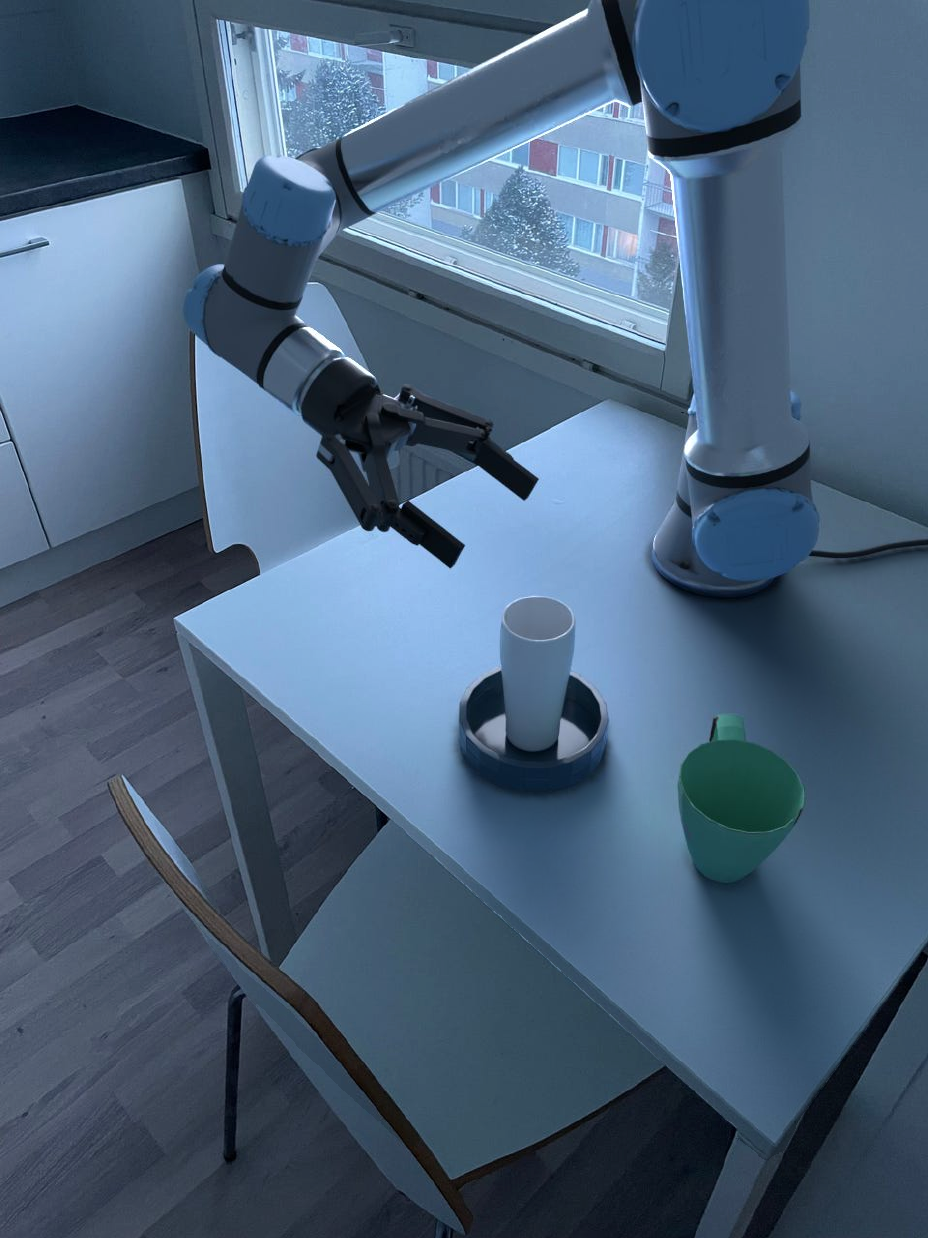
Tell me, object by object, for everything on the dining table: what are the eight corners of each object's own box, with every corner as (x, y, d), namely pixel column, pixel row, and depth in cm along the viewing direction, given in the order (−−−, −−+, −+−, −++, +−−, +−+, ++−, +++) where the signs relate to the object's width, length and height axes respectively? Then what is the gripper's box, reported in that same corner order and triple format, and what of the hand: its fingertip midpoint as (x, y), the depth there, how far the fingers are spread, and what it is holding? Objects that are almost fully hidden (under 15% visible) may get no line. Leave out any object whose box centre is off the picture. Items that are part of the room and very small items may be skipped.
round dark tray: (597, 687, 94) (600, 661, 92) (612, 793, 83) (616, 768, 81) (461, 686, 95) (460, 661, 92) (458, 793, 83) (457, 767, 81)
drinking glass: (546, 770, 85) (554, 652, 76) (485, 743, 88) (486, 626, 78) (577, 726, 89) (589, 609, 80) (518, 701, 92) (523, 586, 83)
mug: (786, 915, 73) (815, 839, 67) (665, 902, 74) (682, 827, 68) (763, 778, 84) (786, 703, 78) (658, 769, 85) (672, 694, 79)
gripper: (388, 373, 96) (543, 491, 94) (226, 469, 80) (408, 616, 77) (409, 315, 91) (574, 439, 88) (239, 406, 74) (436, 561, 72)
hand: (497, 522), depth 83 cm, fingers open, 13 cm apart
